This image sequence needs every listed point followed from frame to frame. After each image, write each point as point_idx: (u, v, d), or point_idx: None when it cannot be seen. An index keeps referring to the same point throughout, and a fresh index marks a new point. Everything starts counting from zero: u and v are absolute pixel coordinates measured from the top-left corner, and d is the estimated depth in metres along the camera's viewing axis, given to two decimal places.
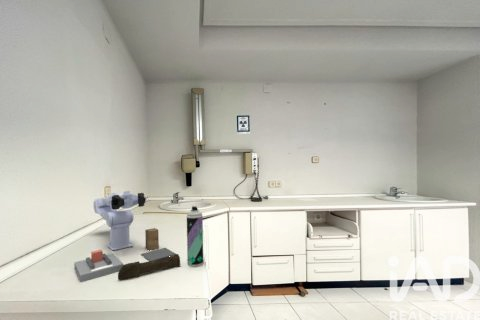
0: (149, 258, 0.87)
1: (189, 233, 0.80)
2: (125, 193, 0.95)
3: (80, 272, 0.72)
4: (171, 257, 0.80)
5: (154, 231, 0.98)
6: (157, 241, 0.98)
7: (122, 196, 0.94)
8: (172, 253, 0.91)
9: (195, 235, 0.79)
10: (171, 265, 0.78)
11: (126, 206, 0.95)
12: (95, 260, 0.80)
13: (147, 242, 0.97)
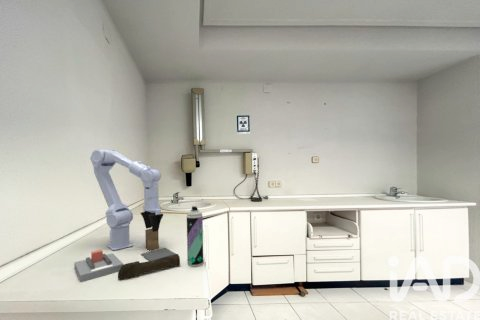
0: (149, 258, 0.87)
1: (189, 233, 0.80)
2: None
3: (80, 272, 0.72)
4: (171, 257, 0.80)
5: None
6: (157, 241, 0.98)
7: None
8: (172, 253, 0.91)
9: (195, 235, 0.79)
10: (171, 265, 0.79)
11: None
12: (95, 260, 0.80)
13: (147, 242, 0.97)
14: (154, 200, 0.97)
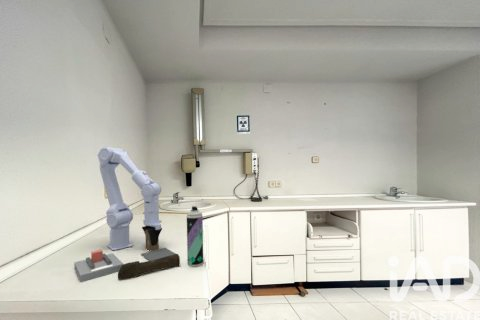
0: (149, 258, 0.87)
1: (189, 233, 0.80)
2: None
3: (80, 272, 0.72)
4: (171, 257, 0.80)
5: None
6: None
7: None
8: (172, 253, 0.91)
9: (195, 235, 0.79)
10: (171, 265, 0.79)
11: None
12: (95, 260, 0.80)
13: (147, 242, 0.97)
14: (154, 214, 0.97)
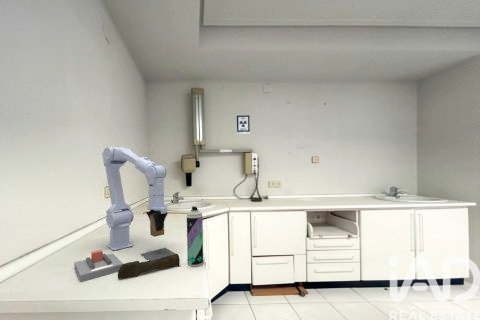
0: (149, 258, 0.87)
1: (189, 233, 0.80)
2: None
3: (80, 272, 0.72)
4: (171, 257, 0.80)
5: None
6: (163, 226, 0.92)
7: None
8: (172, 253, 0.91)
9: (195, 235, 0.79)
10: (171, 265, 0.79)
11: None
12: (95, 260, 0.80)
13: (152, 227, 0.91)
14: (159, 198, 0.91)
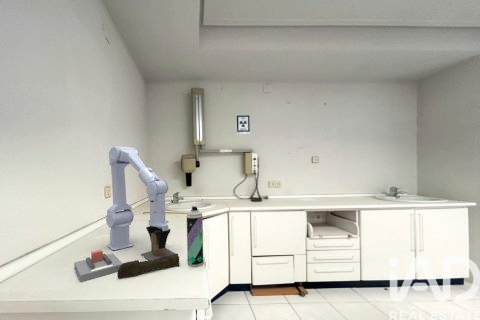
0: (149, 258, 0.87)
1: (189, 233, 0.80)
2: None
3: (80, 272, 0.72)
4: (170, 256, 0.80)
5: None
6: None
7: None
8: (172, 253, 0.91)
9: (195, 235, 0.79)
10: (170, 264, 0.79)
11: None
12: (95, 260, 0.80)
13: (153, 247, 0.90)
14: (161, 214, 0.90)
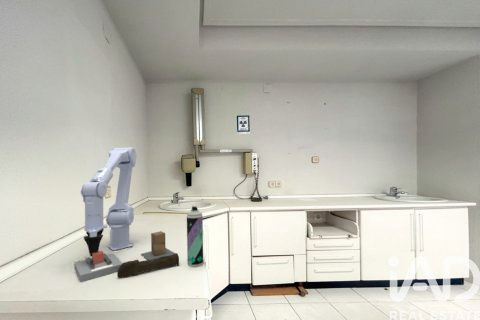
0: (149, 258, 0.87)
1: (189, 233, 0.80)
2: None
3: (80, 272, 0.72)
4: (170, 256, 0.80)
5: (161, 235, 0.90)
6: (164, 245, 0.91)
7: None
8: (172, 253, 0.91)
9: (195, 235, 0.79)
10: (170, 264, 0.79)
11: None
12: (96, 261, 0.79)
13: (153, 247, 0.90)
14: (94, 218, 0.83)
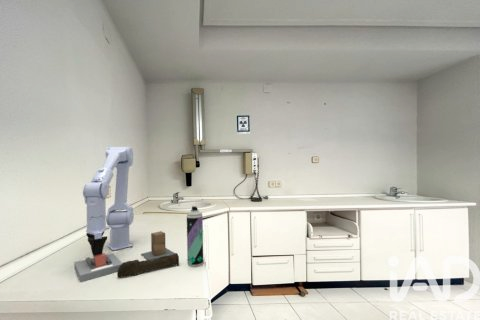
0: (149, 258, 0.87)
1: (189, 233, 0.80)
2: None
3: (80, 272, 0.72)
4: (170, 256, 0.81)
5: (161, 235, 0.90)
6: (164, 245, 0.91)
7: None
8: (172, 253, 0.91)
9: (195, 235, 0.79)
10: (170, 264, 0.79)
11: None
12: (98, 264, 0.76)
13: (153, 247, 0.90)
14: (97, 220, 0.80)
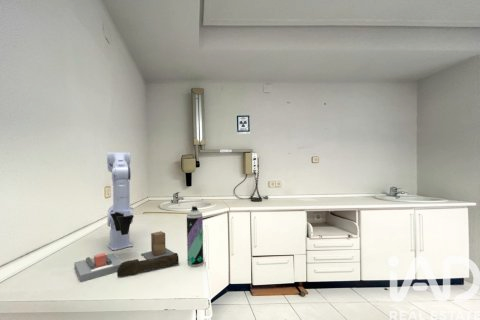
0: (149, 258, 0.87)
1: (189, 233, 0.80)
2: (130, 209, 0.92)
3: (80, 272, 0.72)
4: (170, 256, 0.81)
5: (161, 235, 0.90)
6: (164, 245, 0.91)
7: None
8: (172, 253, 0.91)
9: (195, 235, 0.79)
10: (170, 264, 0.80)
11: None
12: (98, 264, 0.76)
13: (153, 247, 0.90)
14: (124, 200, 0.89)
